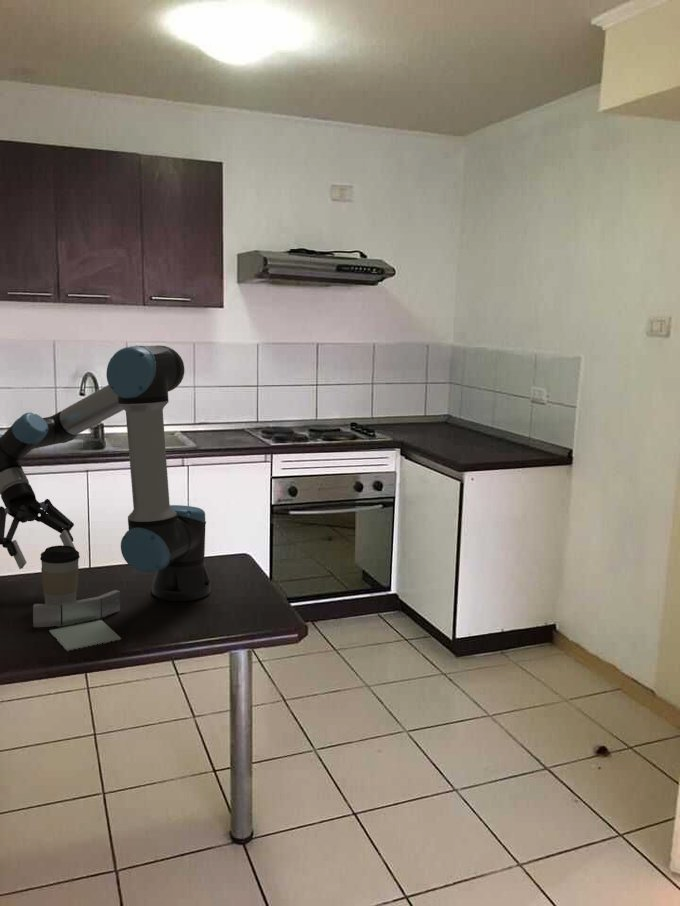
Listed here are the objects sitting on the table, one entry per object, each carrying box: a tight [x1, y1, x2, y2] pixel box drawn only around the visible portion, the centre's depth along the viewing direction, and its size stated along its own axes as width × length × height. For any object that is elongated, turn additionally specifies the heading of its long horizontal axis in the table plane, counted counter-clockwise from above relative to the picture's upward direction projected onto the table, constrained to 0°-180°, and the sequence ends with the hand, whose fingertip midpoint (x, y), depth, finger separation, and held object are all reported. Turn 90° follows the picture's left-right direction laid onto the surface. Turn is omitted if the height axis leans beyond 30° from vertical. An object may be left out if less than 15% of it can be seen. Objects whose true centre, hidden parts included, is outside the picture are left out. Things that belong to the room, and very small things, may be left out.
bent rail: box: [32, 589, 121, 628], centre depth 181 cm, size 20×4×5 cm, turn 128°
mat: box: [49, 619, 122, 652], centre depth 172 cm, size 12×12×1 cm
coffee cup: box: [40, 545, 81, 604], centre depth 187 cm, size 9×9×15 cm
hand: (48, 559), depth 189 cm, fingers open, 13 cm apart
